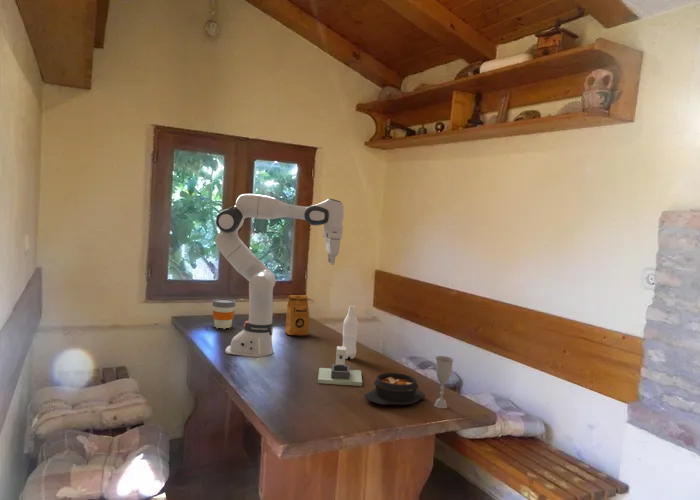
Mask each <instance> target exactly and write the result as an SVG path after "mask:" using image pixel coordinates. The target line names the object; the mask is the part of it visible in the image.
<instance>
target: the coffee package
mask: <svg viewBox="0 0 700 500" xmlns="http://www.w3.org/2000/svg"><path fill="white" fill-rule="evenodd" d="M288 295H289V296H288V299H287V300H288V301H287V306H286V316H285V317H286V319H285V329H284V330H285V334H287V335H289V336H308V335H309V333H310V311H309V305H308V304H309V303H308V295H304V294H303V295H295V294H294V295H293V294H291V295H290V294H288Z"/></svg>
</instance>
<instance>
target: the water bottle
mask: <svg viewBox="0 0 700 500" xmlns="http://www.w3.org/2000/svg"><path fill="white" fill-rule="evenodd" d="M347 311H348V312H347V315H346V317H345V318H344V320H343V322H342V323H343V326H342V345H341V346H342V347H346V356H345V360H348V359H350V360H353V359H355V357H356V354H357V339H358V328H359V319H358V318H357V316H356V306H355V305H349V306H348V310H347Z"/></svg>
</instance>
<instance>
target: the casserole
mask: <svg viewBox="0 0 700 500" xmlns="http://www.w3.org/2000/svg"><path fill="white" fill-rule="evenodd" d="M417 382H418V381H417V380H416V378H415V377H413V376H410V375H407V374H403V373H397V372H396V373H395V372H387V373H380V374H378V375H377V376H376V378H375V380H374V381H373V384H374V386H375V388H374V389H372V390H371V391H370V392H367V393H365V394H364V395H363V396H364V397H365V399H366V400H368V401H370V402H371V403H374V404H377V405H381V406H386V405H387V406H389V405H391V406H392V405H393V406H405V405H413V404H415V403H417V402H419V401H420V400H422V399H423V398H425V397H426V394H425V393H424V392H423V391H421V390H419V384H418V383H417Z"/></svg>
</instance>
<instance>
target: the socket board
mask: <svg viewBox="0 0 700 500" xmlns="http://www.w3.org/2000/svg"><path fill="white" fill-rule="evenodd" d="M350 368H351V367H350V364H345V365H340V364H336V363H332V364H331V368H328V367H319V369H318V376H317V377H318V378H317V384H325V385H326V384H327V385H339V386H340V385H343V386H344V385H345V386H354V387H355V386H356V387H357V386H358V387H363V379H362V378H363V377H362V370H359V369H350Z"/></svg>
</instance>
